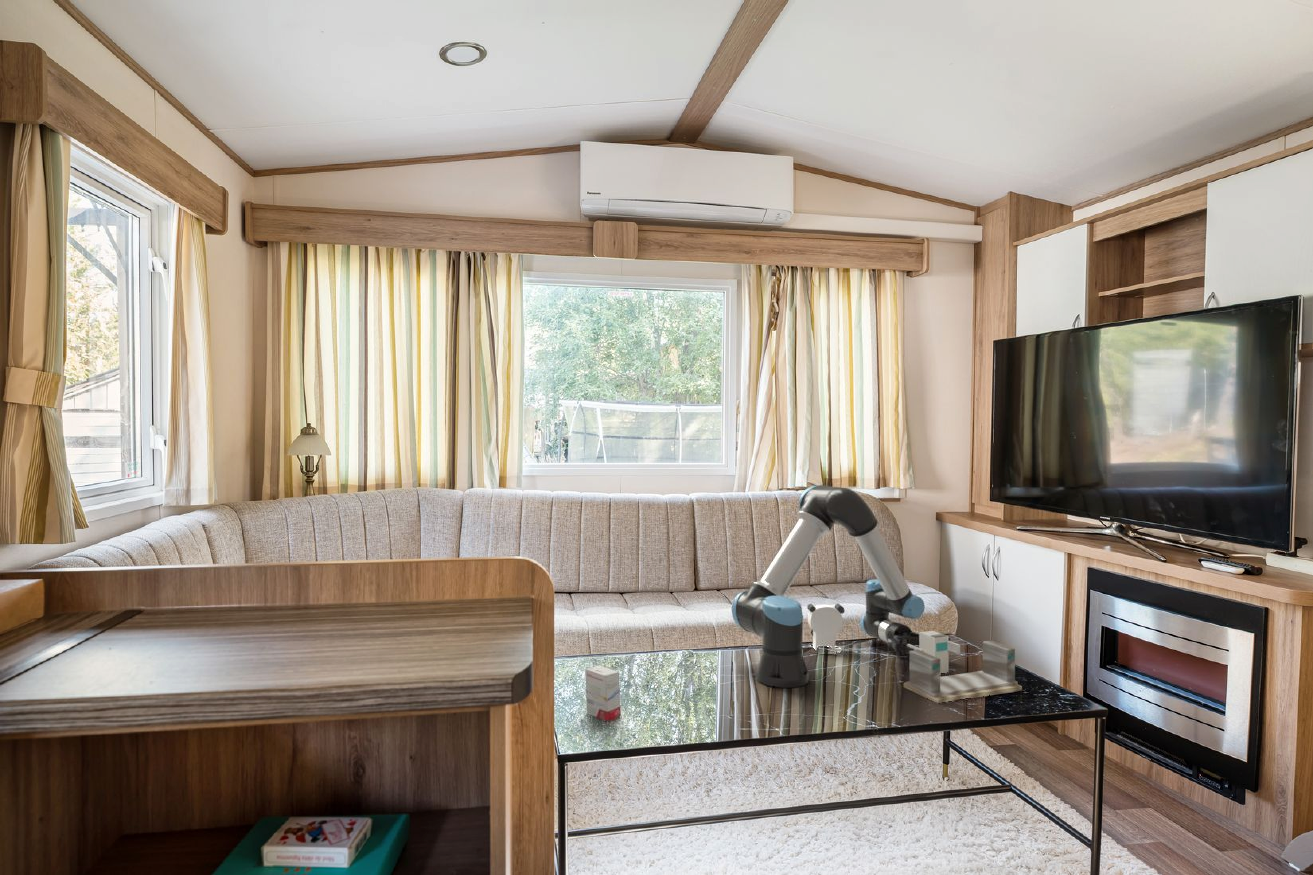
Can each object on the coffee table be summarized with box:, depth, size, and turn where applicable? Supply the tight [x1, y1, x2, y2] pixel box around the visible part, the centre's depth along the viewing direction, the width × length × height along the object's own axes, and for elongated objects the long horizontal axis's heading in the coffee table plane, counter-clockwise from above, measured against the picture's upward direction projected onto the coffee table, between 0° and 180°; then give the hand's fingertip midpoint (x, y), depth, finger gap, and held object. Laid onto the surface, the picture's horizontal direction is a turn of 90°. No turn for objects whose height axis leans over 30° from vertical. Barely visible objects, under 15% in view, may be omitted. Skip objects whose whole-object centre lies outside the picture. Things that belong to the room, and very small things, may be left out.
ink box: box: [584, 664, 622, 722], centre depth 196 cm, size 9×5×12 cm, turn 44°
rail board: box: [903, 640, 1023, 704], centre depth 214 cm, size 29×14×11 cm, turn 110°
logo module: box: [918, 630, 949, 675], centre depth 230 cm, size 5×7×11 cm
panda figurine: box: [806, 603, 845, 655], centre depth 252 cm, size 12×11×15 cm
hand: (941, 651), depth 227 cm, fingers open, 13 cm apart
